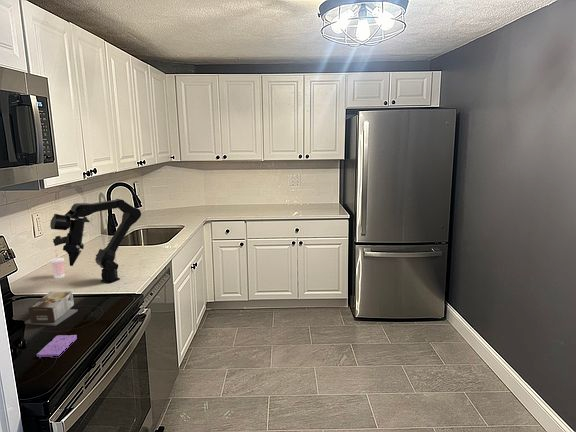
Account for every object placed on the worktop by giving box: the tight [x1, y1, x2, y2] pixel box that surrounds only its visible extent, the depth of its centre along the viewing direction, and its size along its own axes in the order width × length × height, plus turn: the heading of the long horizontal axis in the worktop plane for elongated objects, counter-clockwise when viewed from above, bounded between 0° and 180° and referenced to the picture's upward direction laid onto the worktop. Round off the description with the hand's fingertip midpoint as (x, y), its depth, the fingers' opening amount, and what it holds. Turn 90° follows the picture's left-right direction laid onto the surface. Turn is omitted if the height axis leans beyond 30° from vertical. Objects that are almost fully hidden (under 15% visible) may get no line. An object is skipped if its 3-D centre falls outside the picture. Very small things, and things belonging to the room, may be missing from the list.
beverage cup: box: [50, 249, 66, 279], centre depth 207 cm, size 6×6×14 cm
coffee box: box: [28, 290, 75, 323], centre depth 164 cm, size 9×6×16 cm
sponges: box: [36, 334, 78, 359], centre depth 140 cm, size 7×13×2 cm, turn 1°
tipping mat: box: [24, 308, 78, 327], centre depth 163 cm, size 13×13×1 cm
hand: (71, 265), depth 186 cm, fingers closed
